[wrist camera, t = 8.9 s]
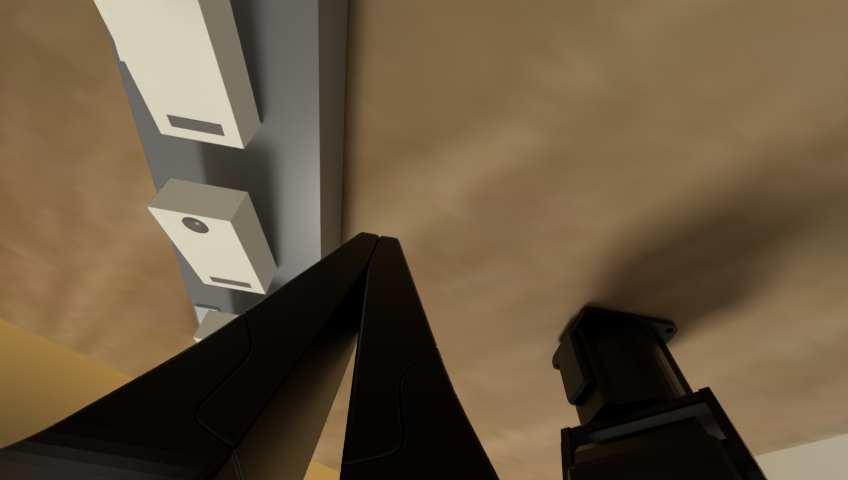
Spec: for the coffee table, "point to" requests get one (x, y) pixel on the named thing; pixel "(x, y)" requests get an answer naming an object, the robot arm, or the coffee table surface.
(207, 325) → the block
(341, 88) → the power strip
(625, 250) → the coffee table surface
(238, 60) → the white rectangular block
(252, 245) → the block
